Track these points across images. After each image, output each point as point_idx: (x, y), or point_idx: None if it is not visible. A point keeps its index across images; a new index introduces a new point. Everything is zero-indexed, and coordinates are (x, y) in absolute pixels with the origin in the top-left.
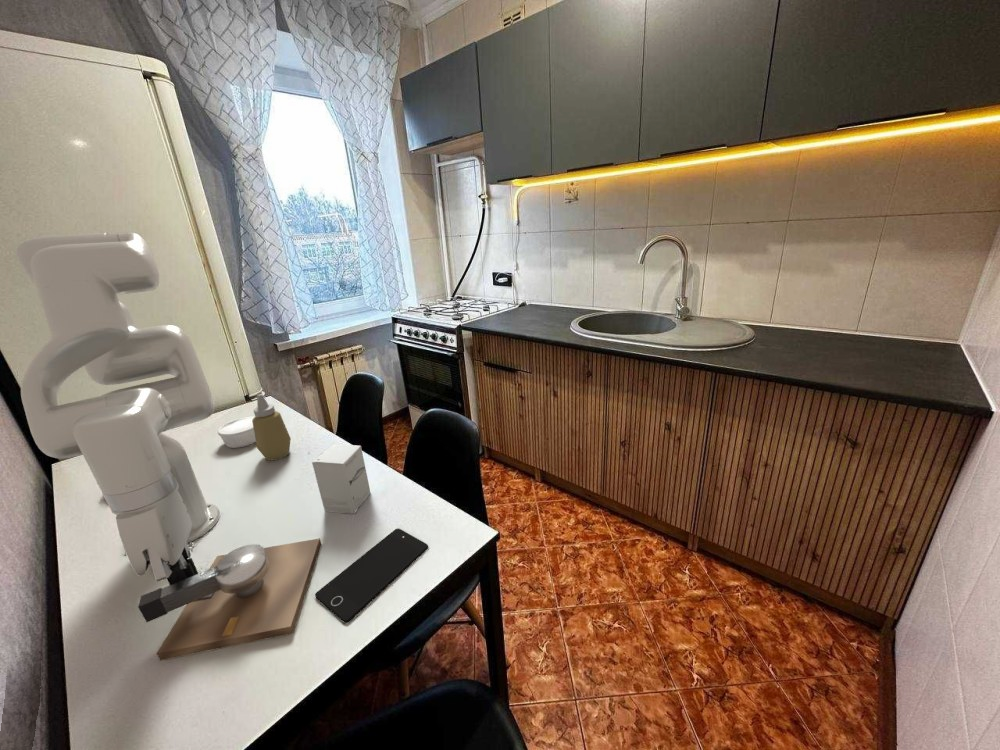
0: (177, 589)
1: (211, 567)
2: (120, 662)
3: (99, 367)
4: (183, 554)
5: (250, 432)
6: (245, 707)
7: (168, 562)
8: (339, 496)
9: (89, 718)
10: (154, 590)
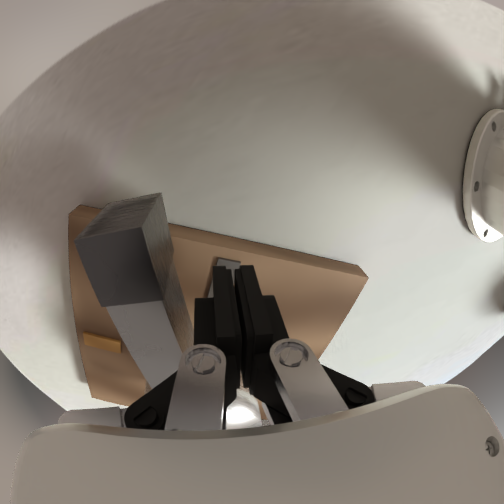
0: (135, 346)
1: (333, 274)
2: (112, 105)
3: None
4: (267, 412)
5: None
6: (12, 338)
7: (270, 359)
8: None
9: (12, 118)
10: (156, 277)
